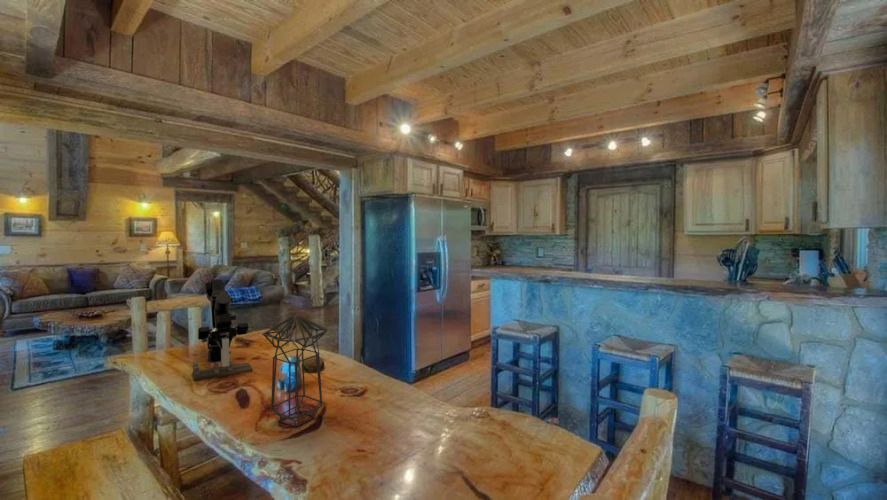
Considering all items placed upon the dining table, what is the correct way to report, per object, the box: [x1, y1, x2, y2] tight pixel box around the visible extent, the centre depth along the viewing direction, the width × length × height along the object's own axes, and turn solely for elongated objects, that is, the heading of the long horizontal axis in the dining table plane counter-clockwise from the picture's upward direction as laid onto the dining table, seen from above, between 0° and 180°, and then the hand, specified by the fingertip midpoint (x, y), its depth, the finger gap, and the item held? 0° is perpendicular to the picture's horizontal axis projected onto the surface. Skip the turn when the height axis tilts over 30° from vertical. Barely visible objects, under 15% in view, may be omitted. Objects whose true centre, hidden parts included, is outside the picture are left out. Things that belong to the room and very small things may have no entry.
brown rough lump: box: [301, 355, 325, 373], centre depth 177 cm, size 10×10×8 cm
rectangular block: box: [220, 337, 232, 367], centre depth 165 cm, size 5×3×11 cm, turn 36°
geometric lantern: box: [261, 314, 329, 428], centre depth 127 cm, size 16×16×35 cm
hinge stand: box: [192, 359, 253, 382], centre depth 172 cm, size 11×22×5 cm, turn 126°
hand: (225, 347), depth 164 cm, fingers closed on rectangular block, 2 cm apart
